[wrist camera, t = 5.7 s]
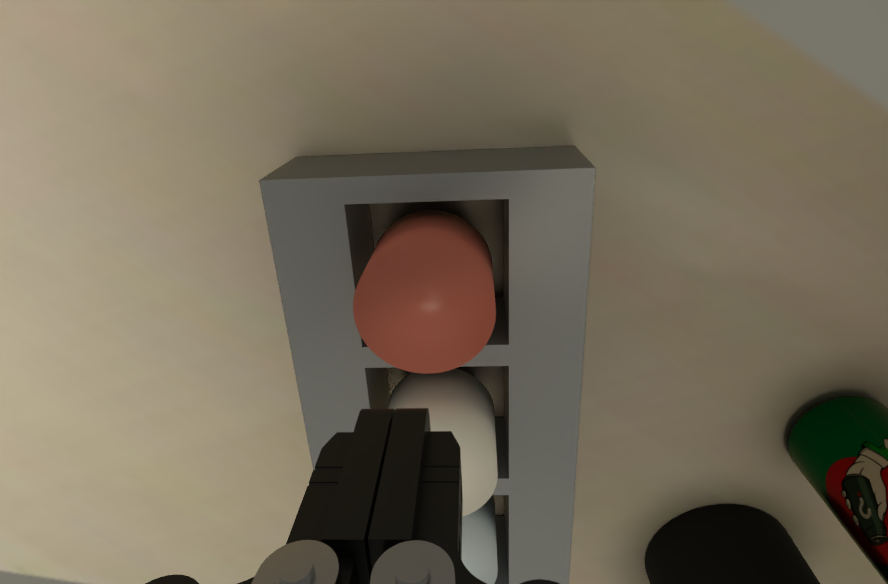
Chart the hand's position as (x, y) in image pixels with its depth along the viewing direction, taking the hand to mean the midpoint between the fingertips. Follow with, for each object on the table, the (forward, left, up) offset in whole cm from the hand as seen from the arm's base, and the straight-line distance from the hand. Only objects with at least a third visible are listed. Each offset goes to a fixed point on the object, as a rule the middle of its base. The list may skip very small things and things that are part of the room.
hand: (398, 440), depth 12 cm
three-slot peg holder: (0, +7, -14) cm, 16 cm away
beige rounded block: (0, +7, -11) cm, 13 cm away
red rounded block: (0, 0, -11) cm, 11 cm away
